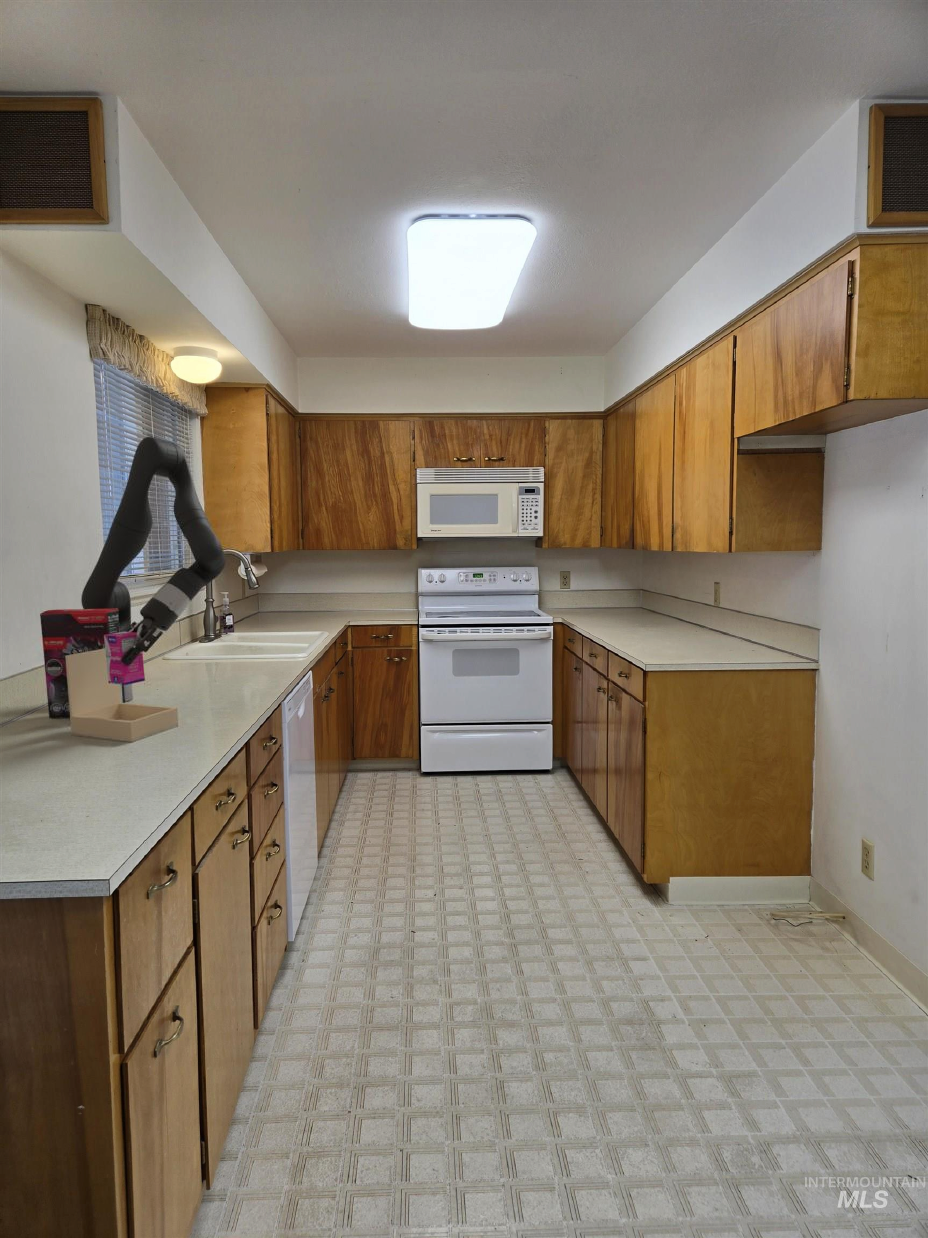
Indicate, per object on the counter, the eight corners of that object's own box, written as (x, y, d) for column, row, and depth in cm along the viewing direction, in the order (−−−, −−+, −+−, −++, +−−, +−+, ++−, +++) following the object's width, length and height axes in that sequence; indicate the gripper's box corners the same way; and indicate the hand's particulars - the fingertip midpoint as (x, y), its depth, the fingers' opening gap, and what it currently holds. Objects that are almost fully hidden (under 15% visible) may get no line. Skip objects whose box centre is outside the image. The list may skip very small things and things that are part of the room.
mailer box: (71, 735, 161) (65, 655, 159) (120, 720, 174) (115, 646, 172) (132, 742, 155) (126, 659, 153) (178, 726, 168) (173, 649, 166)
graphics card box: (46, 719, 176) (37, 611, 173) (61, 713, 183) (52, 608, 180) (115, 718, 176) (107, 610, 173) (127, 711, 183) (120, 607, 180)
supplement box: (107, 683, 162) (102, 634, 161) (129, 679, 167) (126, 631, 166) (123, 685, 159) (119, 635, 158) (146, 680, 164) (142, 632, 163)
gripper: (142, 595, 171) (94, 648, 164) (165, 598, 161) (115, 655, 154) (165, 614, 175) (120, 667, 169) (190, 618, 165) (142, 675, 158)
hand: (118, 661), depth 161 cm, fingers closed on supplement box, 7 cm apart
